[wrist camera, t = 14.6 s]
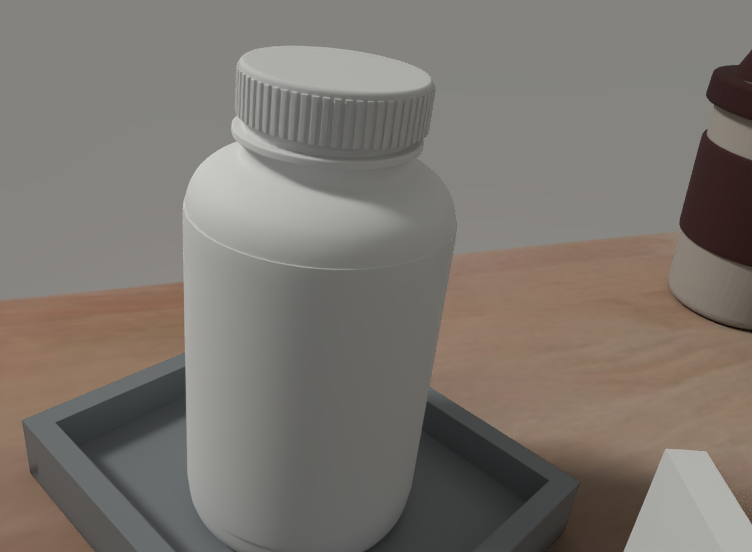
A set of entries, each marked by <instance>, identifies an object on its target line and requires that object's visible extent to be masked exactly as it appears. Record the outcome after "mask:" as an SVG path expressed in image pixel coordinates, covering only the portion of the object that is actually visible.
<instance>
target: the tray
mask: <svg viewBox="0 0 752 552" xmlns="http://www.w3.org/2000/svg"><path fill="white" fill-rule="evenodd" d="M22 423H23V430H24V436H25V442H26V448H27V455H28V461H29V467H30V473H31V474H32V476H33V477H34V478H35V479H36V480H37V482H38V483H39V484H40V485H41V486H42V488H43V489H44V490H45V491H46V492H47V494H48V495H49V496H50V497H51V499H52V500H53V501H54V502H55V503H56V505H57V506H58V507H59V508H60V509H61V511H62V512H63V513H64V514H65V515H66V517H67V518H68V519H69V520H70V522H71V523H72V524H73V525H74V526H75V528H76V529H77V530H78V531H79V532H80V534H81V535H82V536H83V537H84V539H85V540H86V541H87V542H88V543H89V545H90V546H91V547H92V548H93V549H94V551H95V552H237V551H235V550H233V549H231V548H230V547H228V546H227V545H225V544H224V543H223V542H221V541H220V540H219V539H218V538H217V537H216V536H215V535H214V534H213V533H212V532H211V531H210V530H209V529H208V528H207V527H206V525H205V524H204V523H203V521H202V520H201V518H200V517H199V515H198V513H197V511H196V509H195V506H194V504H193V501H192V497H191V493H190V488H189V481H188V474H187V427H186V373H185V353H183V354H180V355H178V356H176V357H173V358H171V359H168V360H166V361H164V362H161V363H159V364H156V365H154V366H152V367H149V368H147V369H144V370H142V371H139V372H137V373H135V374H132V375H130V376H127V377H125V378H123V379H120V380H118V381H115V382H113V383H111V384H108V385H106V386H103V387H101V388H99V389H96V390H94V391H91V392H89V393H86V394H84V395H82V396H79V397H77V398H74V399H72V400H70V401H67V402H65V403H62V404H60V405H58V406H55V407H53V408H50V409H48V410H46V411H43V412H41V413H38V414H36V415H33V416H31V417H29V418H26V419H24V420H22ZM579 485H580V482H579V481H577V480H576V479H574V478H573V477H571V476H570V475H568V474H566V473H565V472H563V471H562V470H560V469H558V468H557V467H555V466H554V465H552V464H551V463H549V462H547V461H546V460H544V459H543V458H541V457H540V456H538V455H536V454H535V453H533V452H532V451H530V450H528V449H527V448H525V447H524V446H522V445H521V444H519V443H517V442H516V441H514V440H513V439H511V438H509V437H508V436H506V435H505V434H503V433H502V432H500V431H498V430H497V429H495V428H494V427H492V426H491V425H489V424H487V423H486V422H484V421H483V420H481V419H479V418H478V417H476V416H475V415H473V414H472V413H470V412H468V411H467V410H465V409H464V408H462V407H461V406H459V405H457V404H456V403H454V402H453V401H451V400H449V399H448V398H446V397H445V396H443V395H442V394H440V393H438V392H437V391H435V390H434V389H432V388H430V387H429V391H428V397H427V402H426V408H425V414H424V419H423V425H422V431H421V436H420V442H419V447H418V453H417V459H416V464H415V470H414V476H413V481H412V486H411V490H410V493H409V496H408V499H407V502H406V505H405V508H404V510H403V512H402V514H401V516H400V518H399V519H398V521H397V523H396V524H395V525H394V527H393V528H392V529H391V530H390V531H389V532H388V534H387V535H386V536H385V537H383V538H382V539H381V540H380V541H379V542H378V543H376V544H375V545H374V546H372V547H371V548H369V549H367V550H366V551H364V552H545V551H546V550H547V549H548V548H549V547H550V545H551V544H552V543H553V542H554V541H555V540H556V539H557V538H558V537H559V536H560V535H561V534H562V533H563V532H564V529H565V527H566V524H567V521H568V518H569V515H570V512H571V509H572V506H573V503H574V500H575V497H576V494H577V491H578V488H579Z"/></svg>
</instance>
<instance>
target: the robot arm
mask: <svg viewBox="0 0 752 552" xmlns="http://www.w3.org/2000/svg"><path fill="white" fill-rule="evenodd" d="M624 552H752V524H751V522H750V521H749V519H748V518H747V516H746V514H745V513H744V511H743V510H742V508H741V506H740V505H739V503H738V502H737V500H736V498H735V497H734V495H733V494H732V492H731V490H730V489H729V487H728V486H727V484H726V482H725V481H724V479H723V478H722V476H721V474H720V473H719V471H718V470H717V468H716V466H715V465H714V463H713V462H712V460H711V458H710V457H709V455H708V454H707V452H706V451H693V450H677V449H665V451H664V454H663V456H662V459H661V461H660V464H659V466H658V469H657V471H656V474H655V476H654V478H653V481H652V483H651V486H650V488H649V491H648V493H647V496H646V498H645V500H644V503H643V505H642V508H641V510H640V513H639V515H638V518H637V520H636V523H635V525H634V527H633V530H632V532H631V535H630V537H629V540H628V542H627V545H626V547H625V549H624Z"/></svg>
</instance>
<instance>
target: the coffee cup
mask: <svg viewBox="0 0 752 552" xmlns="http://www.w3.org/2000/svg"><path fill="white" fill-rule="evenodd" d="M706 96H707V98H708V99H709V101H710V102H711V103H713V104H714V108H713V112H712V116H711V119H710V123H709V127H708V129H707V130H705V131H704V133H703V135H702V137H701V141H700V145H699V148H698V152H697V156H696V160H695V163H694V167H693V171H692V175H691V179H690V182H689V186H688V190H687V194H686V198H685V202H684V205H683V209H682V213H681V217H680V228H681V231H680V235H679V239H678V243H677V246H676V250H675V254H674V257H673V261H672V265H671V269H670V272H669V276H668V285H669V288H670V290H671V292H672V293H673V295H674V296H675V297H676V298H677V299H678V300H679V301H680V302H681V303H682V304H683V305H685V306H686V307H688V308H689V309H691V310H693V311H694V312H696V313H698V314H700V315H702V316H704V317H706V318H709V319H711V320H714V321H716V322H719V323H722V324H725V325H729V326H733V327H738V328H744V329H750V330H752V50H751V52H750V53H749V54H748V55H747V56H746V57H745V59H744V60H743V61H742V62H741V63H740V64H739V65H730V66H723V67H719V68H717V69H715V70H714V72H713V75H712V77H711V80H710V84H709V86H708V89H707V93H706Z"/></svg>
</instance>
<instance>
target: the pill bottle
mask: <svg viewBox="0 0 752 552" xmlns="http://www.w3.org/2000/svg"><path fill="white" fill-rule="evenodd" d="M434 96H435V85H434V83H433V80H432V78H431V77H430V76H429V75H428V74H427V73H426V72H424V71H423V70H421V69H419V68H417V67H415V66H412V65H410V64H407V63H404V62H401V61H398V60H395V59H391V58H387V57H383V56H379V55H374V54H369V53H364V52H358V51H352V50H344V49H336V48H326V47H313V46H276V47H267V48H260V49H256V50H252V51H250V52H247V53H246V54H244V55H243V56H242V57H241V58H240V60H239V62H238V63H237V66H236V91H235V112H236V115H237V116H236V117H235V118H234V120H233V121H232V129H231V130H232V135H233V137H234V138H235V140H236V141H237V142H234V143H232V144H229V145H227V146H225V147H223V148H222V149H220V150H218V151H216V152H215V153H213V154H212V155H211V156H209V157H208V158H207V159H206V160H205V161H204V162H203V163H202V164H201V165H200V166H199V167H198V169H197V170H196V171H195V173H194V175H193V177H192V178H191V180H190V183H189V185H188V189H187V192H186V195H185V198H184V202H183V261H184V262H183V265H184V319H185V373H186V427H187V474H188V481H189V488H190V493H191V497H192V501H193V504H194V506H195V509H196V511H197V513H198V515H199V517H200V518H201V520H202V521H203V523H204V524H205V525H206V527H207V528H208V529H209V530H210V531H211V532H212V533H213V534H214V535H215V536H216V537H217V538H218V539H219V540H220V541H221V542H223V543H224V544H225V545H227V546H228V547H230V548H231V549H233V550H235V551H237V552H364V551H366V550H367V549H369V548H371V547H372V546H374V545H375V544H376V543H378V542H379V541H380V540H381V539H382V538H383V537H385V536H386V535H387V534H388V532H389V531H390V530H391V529H392V528H393V527H394V525H395V524H396V523H397V521H398V519H399V518H400V516H401V514H402V512H403V510H404V508H405V505H406V502H407V499H408V496H409V493H410V490H411V486H412V481H413V476H414V470H415V464H416V459H417V453H418V447H419V442H420V436H421V431H422V425H423V419H424V414H425V408H426V402H427V397H428V391H429V386H430V380H431V374H432V369H433V363H434V357H435V352H436V346H437V341H438V335H439V329H440V324H441V318H442V312H443V307H444V301H445V296H446V290H447V284H448V279H449V273H450V267H451V262H452V256H453V250H454V245H455V238H456V228H457V223H456V215H455V208H454V204H453V200H452V197H451V195H450V192H449V190H448V189H447V187H446V185H445V184H444V182H443V181H442V180H441V179H440V178H439V176H438V175H437V174H436V173H434V171H433V170H431V169H430V168H429V167H428V166H427V165H425V164H424V163H422V162H421V161H420V160H418V159H416V158H417V157H418V156H419V155H420V154H421V152H422V150H423V144H424V141H423V139H424V138H425V137H426V136H427V135H428V132H429V127H430V121H431V115H432V109H433V102H434Z"/></svg>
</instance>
